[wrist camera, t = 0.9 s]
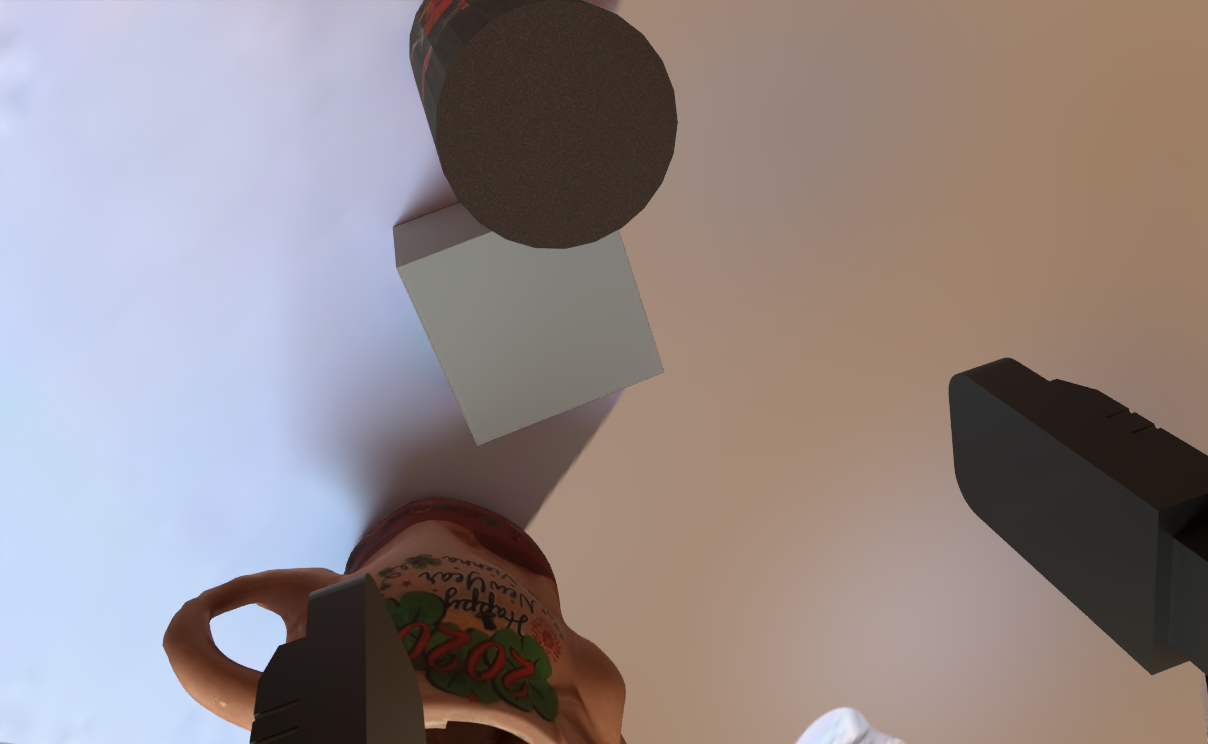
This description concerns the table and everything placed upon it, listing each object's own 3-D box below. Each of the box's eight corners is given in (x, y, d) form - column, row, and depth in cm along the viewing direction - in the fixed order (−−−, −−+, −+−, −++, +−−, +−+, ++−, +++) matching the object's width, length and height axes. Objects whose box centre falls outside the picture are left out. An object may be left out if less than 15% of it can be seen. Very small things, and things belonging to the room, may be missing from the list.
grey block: (392, 227, 38) (396, 267, 34) (577, 157, 38) (605, 188, 34) (465, 390, 42) (477, 446, 37) (633, 324, 42) (664, 372, 38)
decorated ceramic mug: (150, 615, 43) (65, 892, 31) (247, 393, 40) (195, 606, 27) (536, 708, 51) (591, 960, 39) (646, 530, 47) (744, 743, 35)
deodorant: (591, 16, 36) (720, 73, 23) (523, 156, 38) (607, 284, 25) (449, -64, 34) (502, -52, 21) (383, 89, 36) (394, 190, 22)
